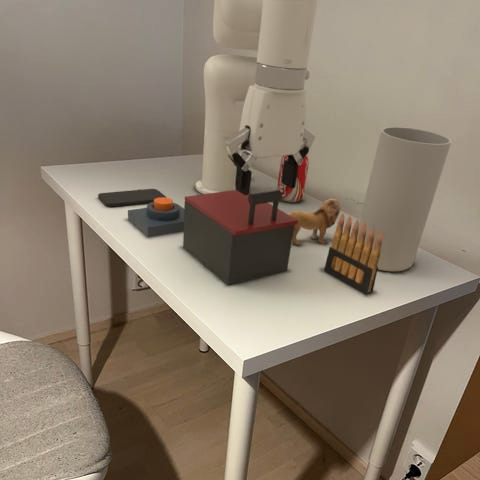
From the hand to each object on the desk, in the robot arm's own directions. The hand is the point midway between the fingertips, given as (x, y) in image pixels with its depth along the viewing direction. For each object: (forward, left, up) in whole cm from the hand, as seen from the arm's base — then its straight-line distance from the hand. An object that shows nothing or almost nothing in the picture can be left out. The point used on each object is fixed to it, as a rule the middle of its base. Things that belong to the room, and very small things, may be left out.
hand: (265, 189), depth 85 cm
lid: (0, -7, -7) cm, 9 cm away
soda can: (-33, -30, -17) cm, 48 cm away
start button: (+5, -27, -13) cm, 31 cm away
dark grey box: (0, -7, -16) cm, 18 cm away
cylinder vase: (-29, +6, -17) cm, 34 cm away
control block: (+5, -27, -16) cm, 32 cm away
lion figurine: (-20, -8, -17) cm, 27 cm away
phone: (+5, -43, -16) cm, 47 cm away
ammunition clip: (-15, +10, -17) cm, 24 cm away
